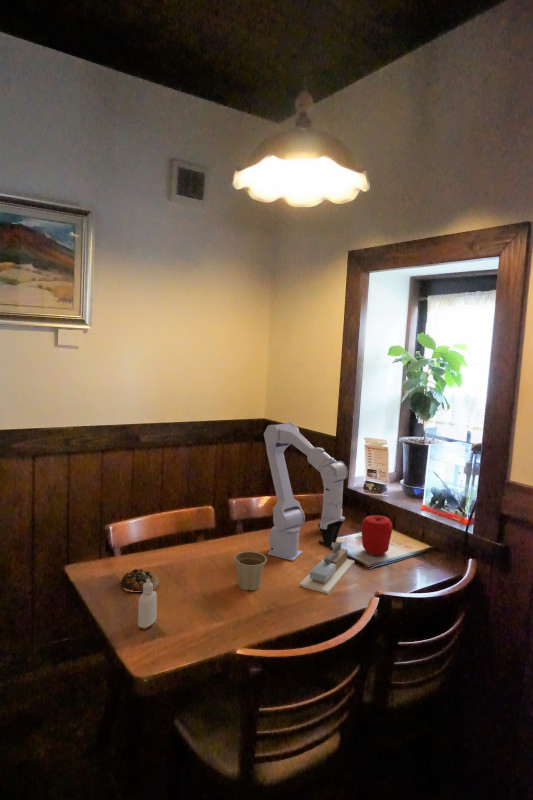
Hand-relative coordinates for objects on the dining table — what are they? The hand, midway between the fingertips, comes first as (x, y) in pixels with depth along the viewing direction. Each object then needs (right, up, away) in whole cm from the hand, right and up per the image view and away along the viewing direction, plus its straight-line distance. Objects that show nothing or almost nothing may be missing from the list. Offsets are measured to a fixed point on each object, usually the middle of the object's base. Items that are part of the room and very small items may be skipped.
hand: (329, 544), depth 163 cm
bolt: (+1, -5, +3) cm, 6 cm away
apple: (+18, -8, +19) cm, 28 cm away
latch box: (0, -10, +2) cm, 10 cm away
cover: (-2, -8, -3) cm, 9 cm away
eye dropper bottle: (-49, -12, -30) cm, 59 cm away
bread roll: (-56, -9, -10) cm, 57 cm away
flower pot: (-25, -10, -8) cm, 28 cm away
